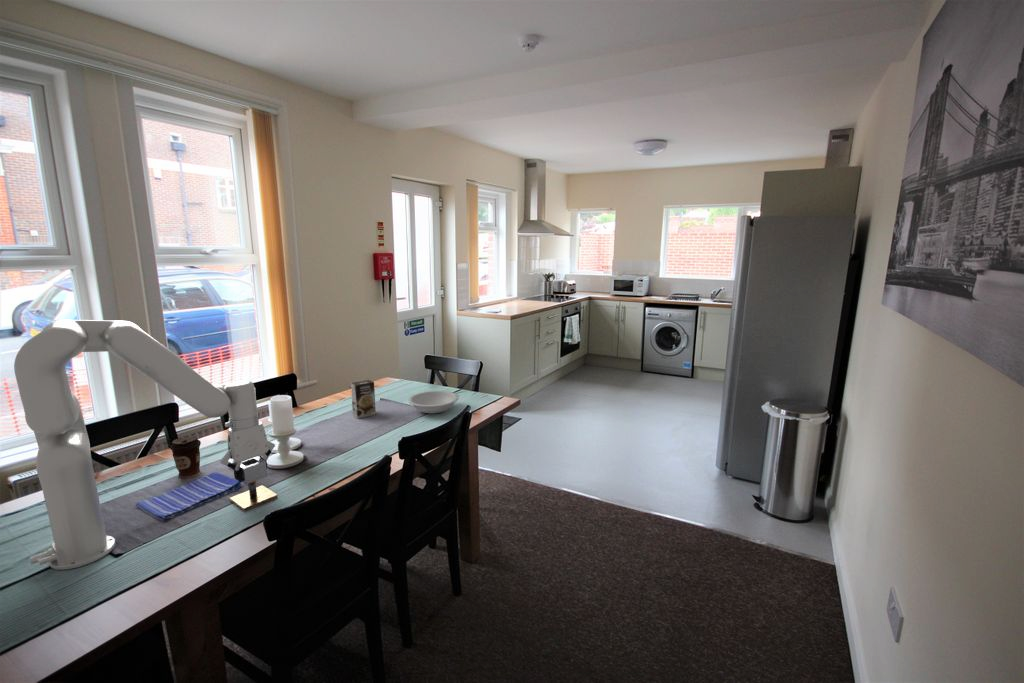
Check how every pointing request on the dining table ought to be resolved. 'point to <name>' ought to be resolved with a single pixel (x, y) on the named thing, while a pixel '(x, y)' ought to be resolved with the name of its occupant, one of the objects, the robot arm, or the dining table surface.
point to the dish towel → (189, 496)
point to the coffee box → (363, 399)
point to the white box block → (253, 469)
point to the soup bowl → (433, 401)
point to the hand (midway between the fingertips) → (251, 475)
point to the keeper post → (253, 497)
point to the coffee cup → (186, 456)
